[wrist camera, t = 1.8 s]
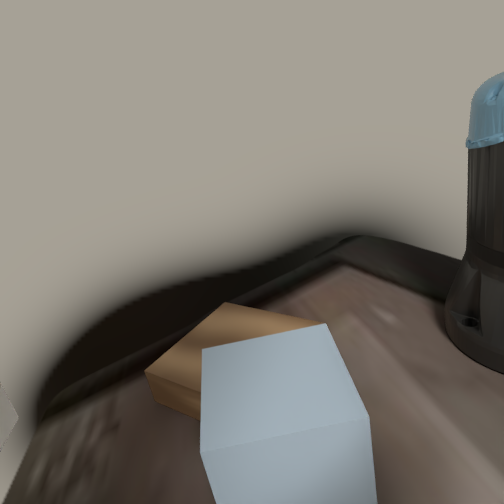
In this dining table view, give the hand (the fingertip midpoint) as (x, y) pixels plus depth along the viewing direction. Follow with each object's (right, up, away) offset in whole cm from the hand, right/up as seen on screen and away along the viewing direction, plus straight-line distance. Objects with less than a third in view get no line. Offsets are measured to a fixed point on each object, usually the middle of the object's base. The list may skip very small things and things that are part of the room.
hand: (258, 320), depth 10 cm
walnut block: (-1, -11, +30) cm, 32 cm away
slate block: (+3, -15, +17) cm, 23 cm away
